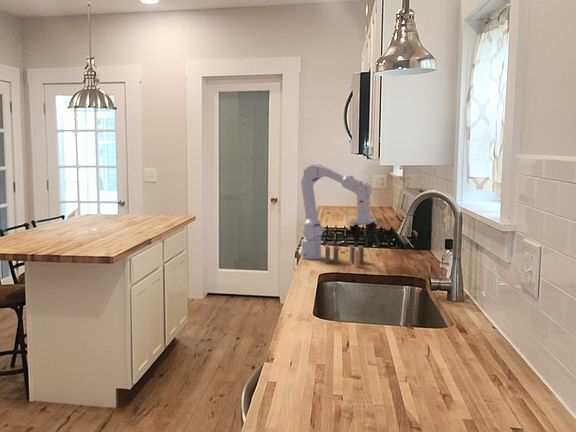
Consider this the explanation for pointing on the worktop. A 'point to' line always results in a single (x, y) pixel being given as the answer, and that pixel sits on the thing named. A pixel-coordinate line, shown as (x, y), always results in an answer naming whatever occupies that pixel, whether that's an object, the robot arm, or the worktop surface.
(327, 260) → the charcoal tile
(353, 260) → the charcoal tile
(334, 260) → the charcoal tile
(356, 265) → the brick tile
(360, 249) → the charcoal tile
